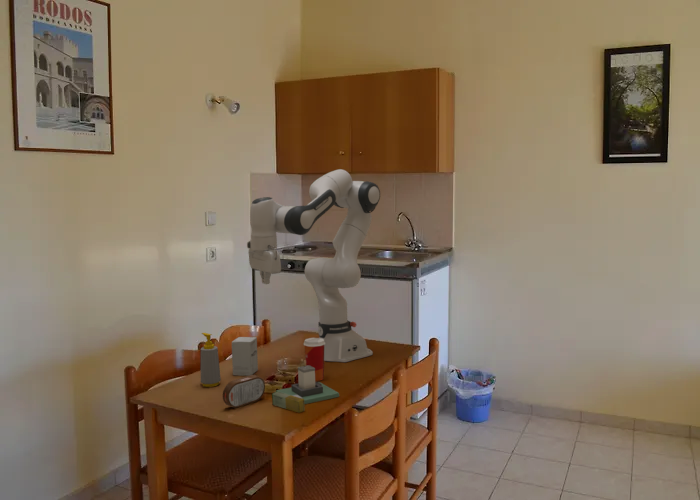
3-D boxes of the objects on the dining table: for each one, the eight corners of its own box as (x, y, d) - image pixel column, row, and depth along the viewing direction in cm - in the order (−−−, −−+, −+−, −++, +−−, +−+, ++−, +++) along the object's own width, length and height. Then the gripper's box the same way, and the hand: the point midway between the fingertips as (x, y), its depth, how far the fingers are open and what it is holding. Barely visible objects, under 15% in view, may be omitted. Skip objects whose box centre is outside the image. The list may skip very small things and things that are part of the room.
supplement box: (251, 376, 230) (250, 341, 229) (232, 375, 232) (230, 341, 230) (258, 370, 237) (257, 336, 236) (239, 369, 239) (238, 336, 238)
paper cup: (310, 374, 230) (309, 336, 229) (329, 376, 227) (328, 338, 226) (300, 381, 223) (299, 341, 222) (320, 383, 220) (319, 343, 219)
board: (319, 385, 218) (319, 376, 218) (339, 396, 206) (338, 387, 206) (276, 393, 210) (275, 384, 210) (293, 406, 198) (293, 396, 198)
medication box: (271, 405, 200) (271, 393, 200) (278, 402, 202) (277, 390, 202) (299, 413, 193) (298, 401, 192) (305, 411, 195) (305, 398, 194)
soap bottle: (212, 380, 227) (210, 330, 225) (225, 383, 222) (222, 333, 220) (196, 385, 222) (193, 334, 220) (208, 389, 217) (206, 337, 215)
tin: (261, 396, 208) (260, 371, 208) (267, 398, 206) (266, 373, 205) (222, 409, 198) (221, 382, 197) (228, 411, 196) (227, 384, 195)
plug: (309, 388, 211) (308, 365, 210) (315, 392, 208) (315, 368, 207) (298, 391, 209) (297, 367, 208) (304, 394, 205) (303, 370, 205)
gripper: (284, 246, 215) (286, 286, 217) (261, 241, 233) (263, 279, 235) (267, 247, 212) (269, 288, 214) (245, 242, 230) (246, 281, 231)
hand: (265, 283), depth 224 cm, fingers closed
